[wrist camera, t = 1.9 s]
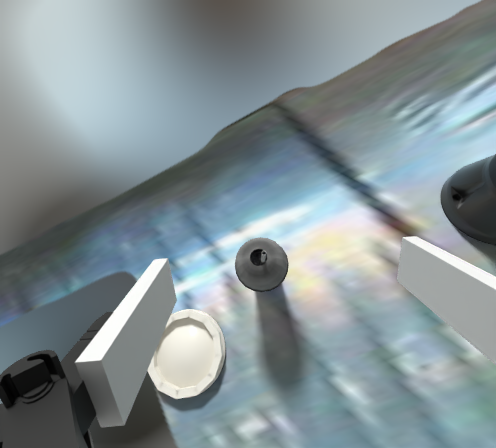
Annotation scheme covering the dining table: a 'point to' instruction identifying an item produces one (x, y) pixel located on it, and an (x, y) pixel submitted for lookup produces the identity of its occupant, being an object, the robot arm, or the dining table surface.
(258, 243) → the beverage cup
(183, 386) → the plate
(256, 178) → the dining table surface
